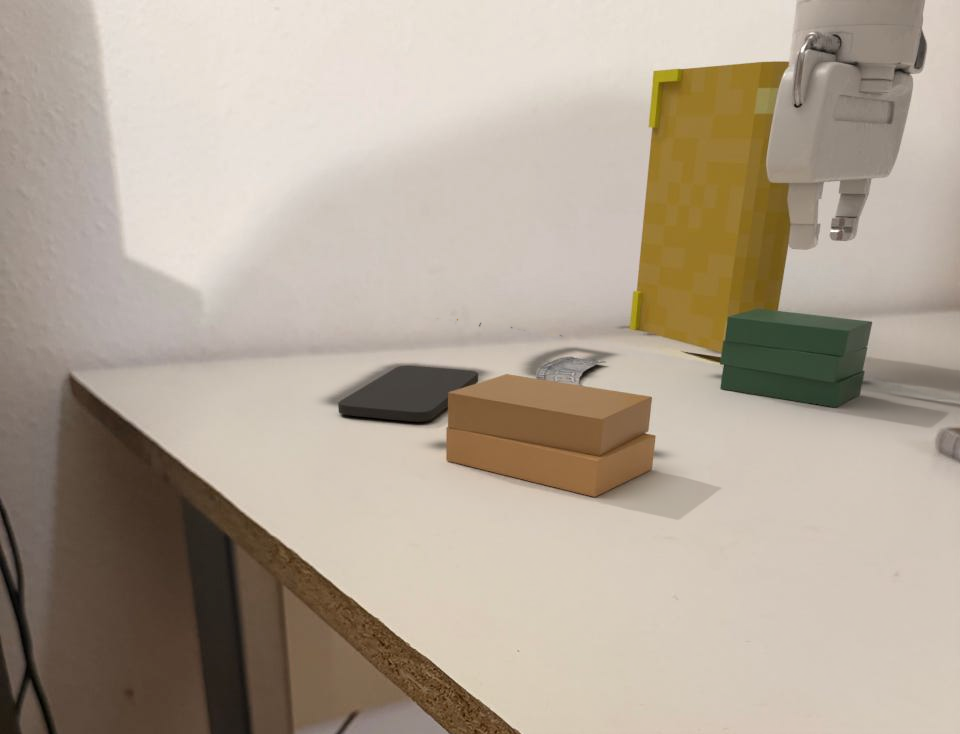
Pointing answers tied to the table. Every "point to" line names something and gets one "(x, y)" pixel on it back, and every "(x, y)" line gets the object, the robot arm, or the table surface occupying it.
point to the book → (710, 204)
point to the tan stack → (551, 432)
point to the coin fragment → (565, 369)
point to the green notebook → (798, 332)
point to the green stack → (792, 373)
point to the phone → (407, 393)
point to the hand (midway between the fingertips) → (823, 244)
